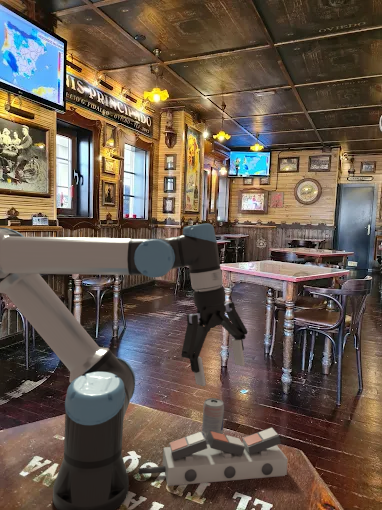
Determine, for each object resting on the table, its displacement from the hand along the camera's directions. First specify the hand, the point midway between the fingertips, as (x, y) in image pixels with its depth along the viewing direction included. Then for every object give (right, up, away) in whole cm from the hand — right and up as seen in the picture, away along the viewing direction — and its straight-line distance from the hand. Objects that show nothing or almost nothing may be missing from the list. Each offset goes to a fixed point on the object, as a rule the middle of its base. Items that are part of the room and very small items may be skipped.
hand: (221, 374), depth 90 cm
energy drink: (-2, -21, +7) cm, 22 cm away
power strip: (-3, -22, -3) cm, 22 cm away
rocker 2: (+1, -15, -3) cm, 15 cm away
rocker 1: (-8, -15, -5) cm, 18 cm away
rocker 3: (+10, -17, -1) cm, 19 cm away
